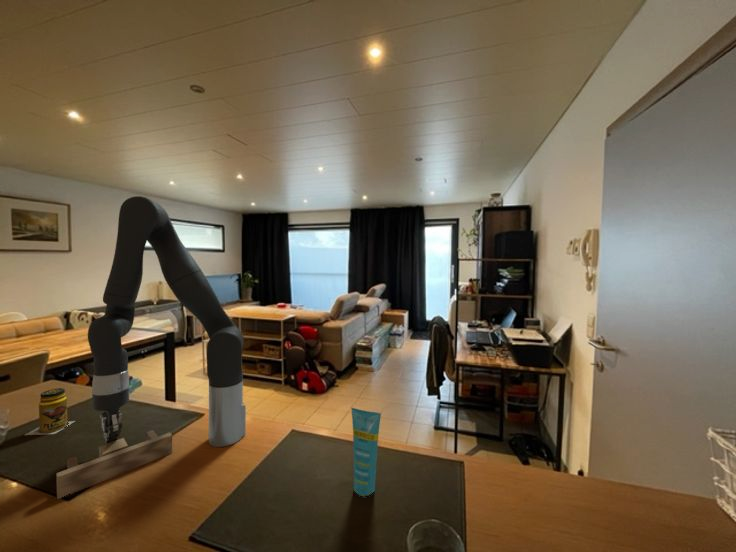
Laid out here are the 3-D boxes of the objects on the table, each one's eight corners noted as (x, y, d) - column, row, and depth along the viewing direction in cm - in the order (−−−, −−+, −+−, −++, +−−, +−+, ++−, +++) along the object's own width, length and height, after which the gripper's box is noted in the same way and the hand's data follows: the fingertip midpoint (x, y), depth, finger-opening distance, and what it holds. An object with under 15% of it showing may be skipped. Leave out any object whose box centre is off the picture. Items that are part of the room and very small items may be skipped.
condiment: (55, 434, 90) (55, 395, 90) (23, 435, 89) (23, 396, 89) (75, 421, 98) (75, 385, 97) (46, 423, 96) (45, 386, 96)
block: (123, 455, 81) (123, 437, 80) (128, 464, 77) (127, 445, 77) (99, 465, 77) (98, 446, 77) (102, 474, 73) (102, 454, 73)
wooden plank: (162, 440, 88) (162, 423, 88) (172, 452, 82) (172, 435, 82) (54, 480, 71) (54, 459, 71) (57, 499, 65) (57, 477, 65)
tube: (346, 493, 68) (347, 411, 68) (353, 479, 73) (354, 402, 72) (377, 501, 66) (378, 417, 66) (382, 486, 71) (384, 407, 70)
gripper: (134, 391, 79) (134, 455, 79) (123, 377, 87) (123, 435, 88) (96, 400, 73) (96, 469, 73) (88, 385, 81) (88, 447, 82)
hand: (111, 450), depth 81 cm, fingers closed
